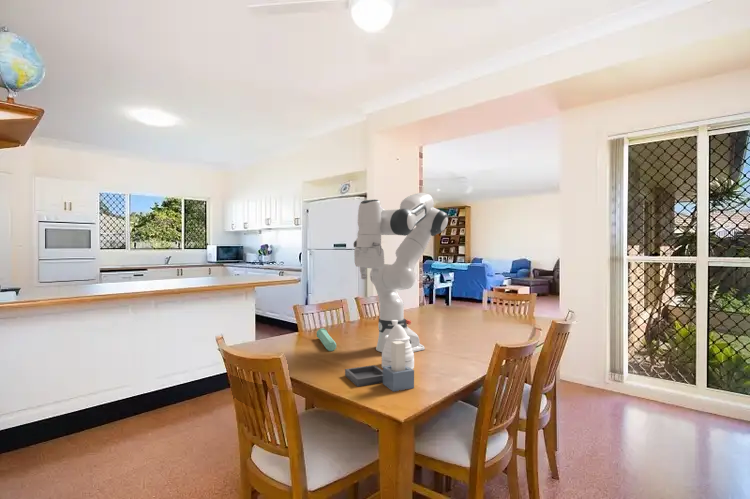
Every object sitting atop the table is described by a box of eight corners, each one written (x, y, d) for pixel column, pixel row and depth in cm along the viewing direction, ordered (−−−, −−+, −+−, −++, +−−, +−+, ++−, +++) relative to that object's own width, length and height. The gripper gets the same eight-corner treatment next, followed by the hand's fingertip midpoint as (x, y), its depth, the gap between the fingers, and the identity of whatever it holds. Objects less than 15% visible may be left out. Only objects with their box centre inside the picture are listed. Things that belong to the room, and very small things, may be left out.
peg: (400, 383, 138) (400, 340, 138) (405, 386, 135) (405, 343, 134) (391, 385, 136) (391, 341, 136) (396, 388, 133) (396, 344, 133)
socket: (402, 380, 141) (402, 363, 141) (414, 388, 134) (414, 370, 134) (382, 383, 137) (382, 366, 137) (393, 391, 130) (393, 373, 130)
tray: (374, 371, 151) (374, 365, 151) (388, 381, 140) (389, 374, 140) (345, 375, 146) (345, 369, 145) (357, 386, 135) (357, 379, 135)
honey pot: (375, 365, 158) (375, 320, 158) (399, 359, 166) (399, 317, 166) (395, 374, 148) (396, 326, 148) (420, 367, 156) (421, 322, 155)
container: (335, 338, 179) (325, 326, 202) (323, 344, 177) (314, 331, 201) (340, 349, 179) (329, 336, 203) (328, 355, 178) (318, 341, 202)
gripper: (389, 242, 139) (388, 282, 139) (366, 243, 157) (366, 277, 157) (372, 242, 136) (371, 282, 136) (351, 242, 155) (351, 278, 155)
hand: (368, 280), depth 147 cm, fingers open, 8 cm apart
